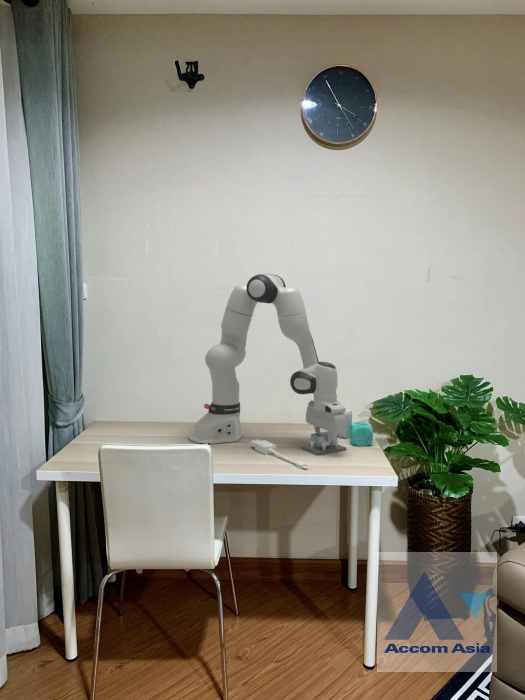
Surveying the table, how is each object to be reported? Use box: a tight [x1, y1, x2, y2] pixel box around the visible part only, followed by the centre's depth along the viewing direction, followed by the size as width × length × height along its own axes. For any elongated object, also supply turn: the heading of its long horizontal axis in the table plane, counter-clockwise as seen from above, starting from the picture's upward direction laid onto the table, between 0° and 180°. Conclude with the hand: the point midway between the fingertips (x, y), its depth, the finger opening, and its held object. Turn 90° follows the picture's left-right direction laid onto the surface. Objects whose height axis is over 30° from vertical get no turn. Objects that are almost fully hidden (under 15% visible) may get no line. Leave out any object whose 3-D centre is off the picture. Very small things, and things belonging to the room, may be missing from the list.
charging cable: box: [249, 439, 309, 470], centre depth 224 cm, size 5×32×3 cm, turn 35°
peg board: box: [301, 437, 347, 456], centre depth 235 cm, size 14×10×4 cm
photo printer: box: [337, 407, 353, 440], centre depth 254 cm, size 10×4×12 cm, turn 47°
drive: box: [310, 430, 338, 447], centre depth 235 cm, size 9×5×4 cm, turn 122°
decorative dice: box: [349, 421, 374, 447], centre depth 244 cm, size 8×8×8 cm
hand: (323, 439), depth 235 cm, fingers closed on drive, 5 cm apart
